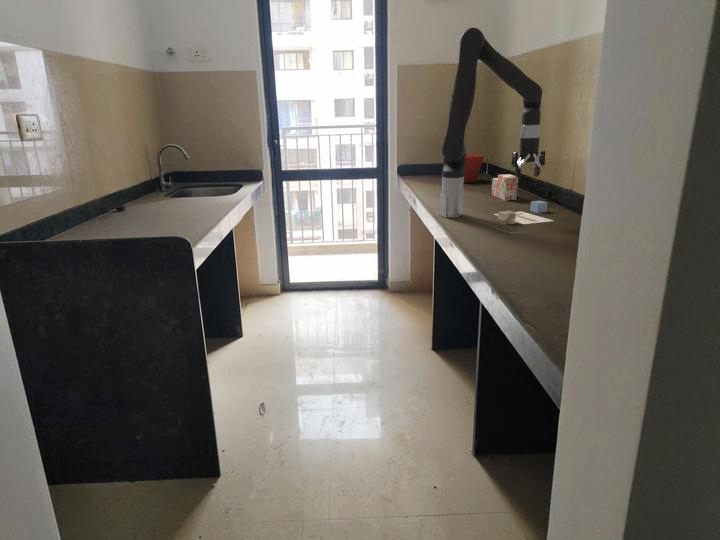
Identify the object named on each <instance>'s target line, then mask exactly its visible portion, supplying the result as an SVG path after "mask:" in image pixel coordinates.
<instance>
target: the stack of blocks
mask: <svg viewBox="0 0 720 540" xmlns="http://www.w3.org/2000/svg"><path fill="white" fill-rule="evenodd" d="M518 184H519V178H516V176H515V175H513V174H510V173H509V174H506V173H505V174H498V175H497V177H494V178H491V196H493V195H494V196H493V197H495V196H496V197H495V198H497V197H499V198H501V199H503V200H504V201H503V200H502V201H503V202H509V201H508V200H516V201H517V197H518V196H517V194H518V188H519V187H518ZM499 198H498V199H499ZM501 199H500V200H501Z"/></svg>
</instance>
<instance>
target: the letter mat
mask: <svg viewBox="0 0 720 540" xmlns="http://www.w3.org/2000/svg"><path fill="white" fill-rule="evenodd" d="M513 212H514V211H513ZM514 213H516V220H515V223H519V224H522V225H528V224H537V223H549V222H554V220H553V219H550V218H546V217H542V216H538V215H535V214H531V213H527V212H526V211H515V212H514ZM492 215H494V216H497V217H498V213H493V214H492Z"/></svg>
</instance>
